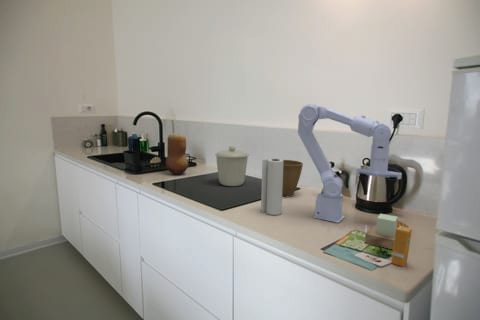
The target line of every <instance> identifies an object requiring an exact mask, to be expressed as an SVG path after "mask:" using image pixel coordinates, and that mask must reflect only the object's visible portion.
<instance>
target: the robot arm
mask: <svg viewBox="0 0 480 320" xmlns="http://www.w3.org/2000/svg"><path fill="white" fill-rule="evenodd" d="M325 119H326V120H327V119H329V120H331V121H334V122H338V123H341V124H343V125H347V126H349V128H350V130H351V131H352V132H355V133H358V134H360V135H362V136H365V137H367V138H370V137H372V144H371V146H370V150H371V151H370V162H369V168H356V173H355V174H356V175H358V180H359V182H360V184H361V186H362V190H363V196H367V194H368V192H369V191H368V186H369V185H368V184H369V177H370V176H372V177H379V178H380V177H381V178H388V179H387V192H386V199H390V198H391V194H392V191H393V189H394V187H395V185H396V183H397V182H398V180H401V179H402V175H403V174H402V173H403V172H397V171H392V170H388V168H389V166H388V165H389V158H390V157H389V154H390V138H391V137H392V131H391V129H390V126H388V125H386V124H384V123H380V121H379V120H371V119H369V118H366V115H363V114H362V115H356V116H353V117H352V116H350V115H347V114H345V113H343V112H340V111H338V110H334V109H332V108H330V107H326V106H318V105H316V104H305V105H304V106H303V107H302V108H301V109H300V111H299V114H298V126H297V127H298V128H297V133H298V136H299V138H300V140H301V141H302V143H303V146H304V147H305V149H306V152H307V153H308V155H309V157H310V158H311V159H310V160H312V163H313V164H314V166H315V168H316V170H317V172H318V173H319V176H320V180H321V182H322V184H323V193H318V194H317V196H316V198H315V209H314V216H313V218H315V219H319V220H323V221H329V222H333V223H337V224H339V223H340V222H341V221H342V220H344V219H345V218H346V215H343V202H344V194H343V193H342V189H343V187H344V181H343V179H342V178H341V177H340V176H338V175H337V174H336V172H335V170H334V169H333V168H332V166H331V165H330V162H329V161H328V158H327V157H326V155H325V154H324V151H323V149H322V148H321V146H320V143H319V142H318V140H317V138H316V137H315V134H314V132H313V131H314V128H315V125H316V123H317V122H318V121H319V120H325Z"/></svg>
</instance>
